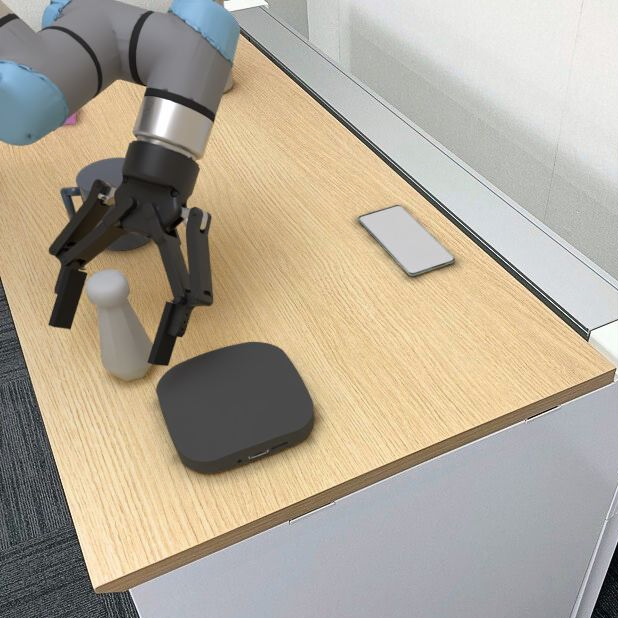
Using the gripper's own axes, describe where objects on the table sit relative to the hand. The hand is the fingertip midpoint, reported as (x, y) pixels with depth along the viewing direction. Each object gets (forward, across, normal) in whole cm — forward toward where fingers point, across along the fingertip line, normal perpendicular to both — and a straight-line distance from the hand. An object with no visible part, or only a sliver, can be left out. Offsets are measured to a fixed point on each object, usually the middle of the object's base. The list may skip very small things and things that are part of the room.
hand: (107, 345), depth 78 cm
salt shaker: (+2, 0, -6) cm, 6 cm away
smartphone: (-23, -18, -31) cm, 42 cm away
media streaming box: (+3, -14, -6) cm, 15 cm away
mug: (-12, +19, -20) cm, 30 cm away
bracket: (-31, +53, -39) cm, 72 cm away
